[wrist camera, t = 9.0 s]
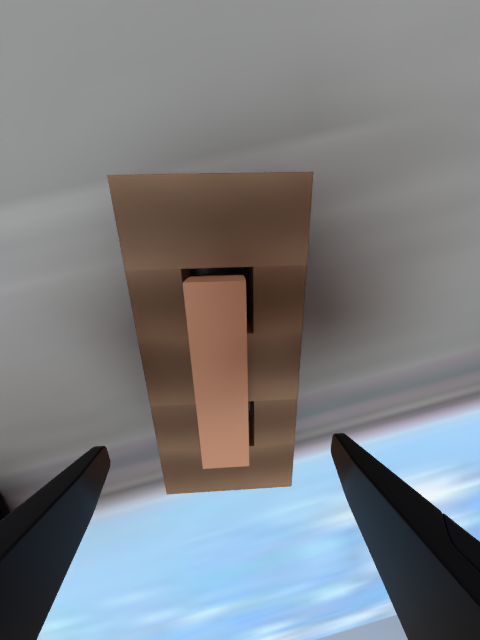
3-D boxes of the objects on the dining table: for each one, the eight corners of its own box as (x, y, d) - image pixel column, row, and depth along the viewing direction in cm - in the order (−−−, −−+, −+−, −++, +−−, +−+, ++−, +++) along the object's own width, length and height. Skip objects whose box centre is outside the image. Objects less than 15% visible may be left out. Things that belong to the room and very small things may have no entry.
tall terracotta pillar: (244, 411, 19) (249, 466, 15) (209, 413, 19) (202, 468, 14) (240, 269, 15) (245, 280, 11) (197, 270, 15) (182, 282, 11)
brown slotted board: (283, 453, 21) (291, 486, 18) (175, 459, 21) (166, 494, 18) (296, 186, 14) (313, 171, 11) (132, 189, 14) (107, 175, 11)
